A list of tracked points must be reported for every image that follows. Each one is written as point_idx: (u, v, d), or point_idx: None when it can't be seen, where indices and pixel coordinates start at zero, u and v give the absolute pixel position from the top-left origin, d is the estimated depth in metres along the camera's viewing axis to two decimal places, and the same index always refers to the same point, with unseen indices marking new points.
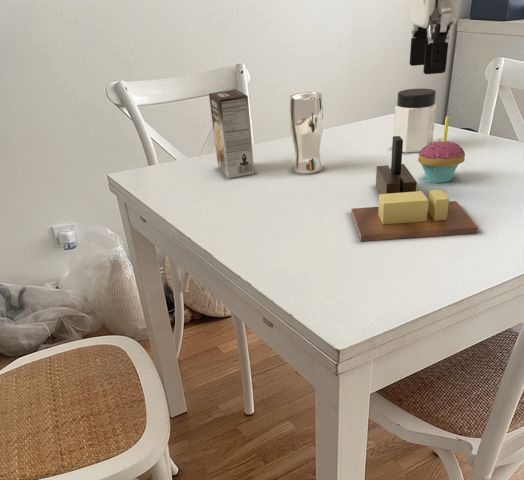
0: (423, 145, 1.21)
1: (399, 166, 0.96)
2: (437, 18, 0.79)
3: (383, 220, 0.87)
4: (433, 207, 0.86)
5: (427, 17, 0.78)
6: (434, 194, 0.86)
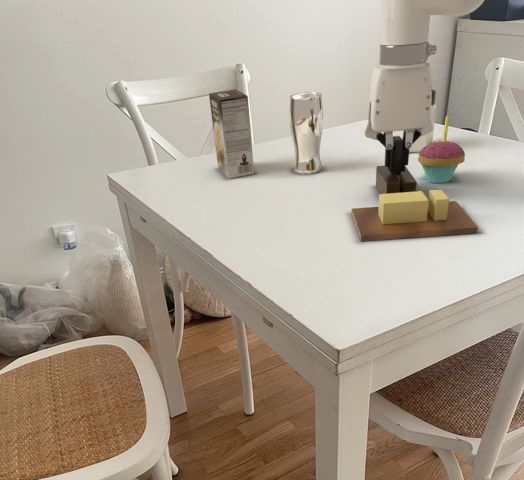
0: (423, 145, 1.21)
1: (399, 166, 0.96)
2: None
3: (383, 220, 0.87)
4: (433, 207, 0.86)
5: (429, 119, 0.91)
6: (434, 194, 0.86)
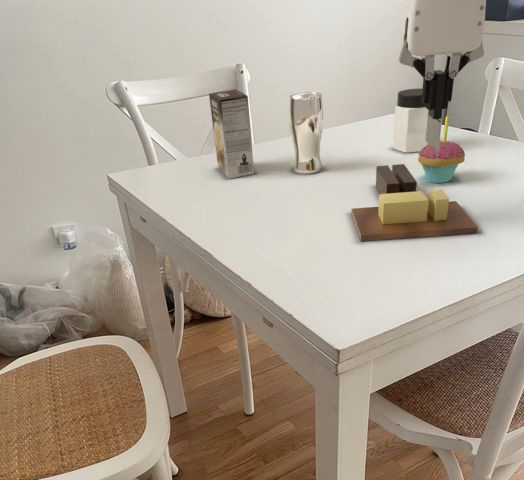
0: (423, 145, 1.21)
1: (440, 107, 0.78)
2: None
3: (383, 220, 0.87)
4: (433, 207, 0.86)
5: (481, 38, 0.73)
6: (434, 194, 0.86)
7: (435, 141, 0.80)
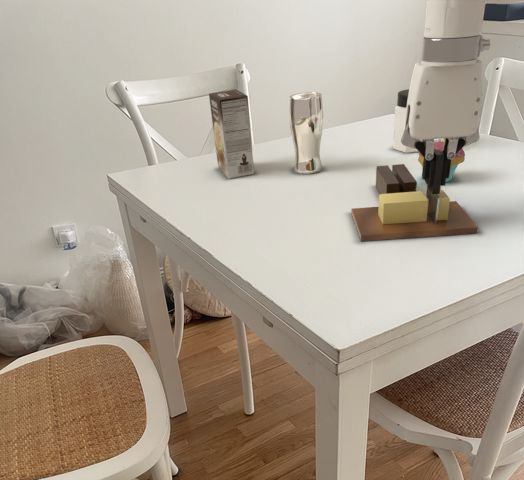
0: None
1: (438, 184, 0.84)
2: None
3: (383, 220, 0.87)
4: None
5: (477, 125, 0.79)
6: None
7: (433, 214, 0.86)
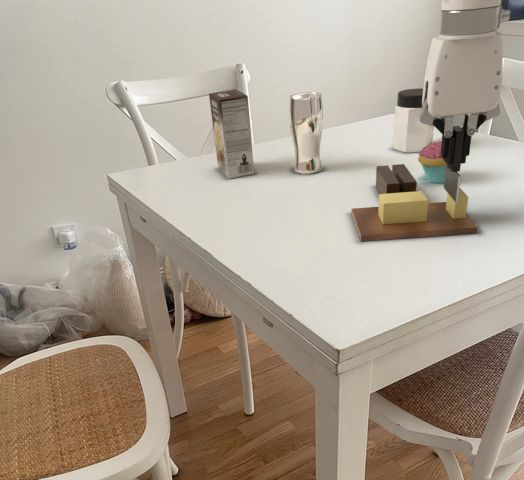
0: (423, 145, 1.21)
1: (458, 161, 0.82)
2: None
3: (383, 220, 0.87)
4: (452, 205, 0.86)
5: (498, 100, 0.77)
6: None
7: (454, 192, 0.84)
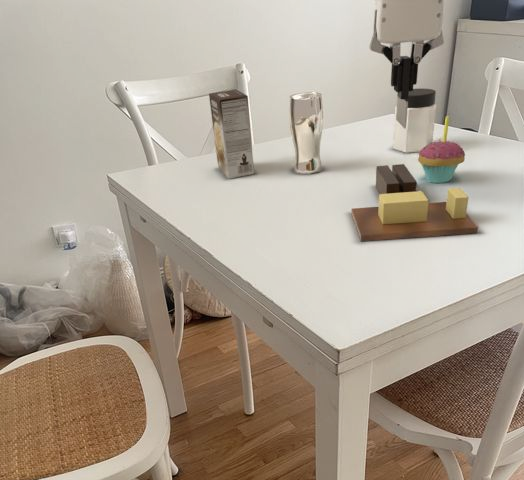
0: (423, 145, 1.21)
1: (406, 89, 0.88)
2: None
3: (383, 220, 0.87)
4: (452, 205, 0.86)
5: (441, 28, 0.83)
6: (453, 192, 0.86)
7: (403, 119, 0.90)
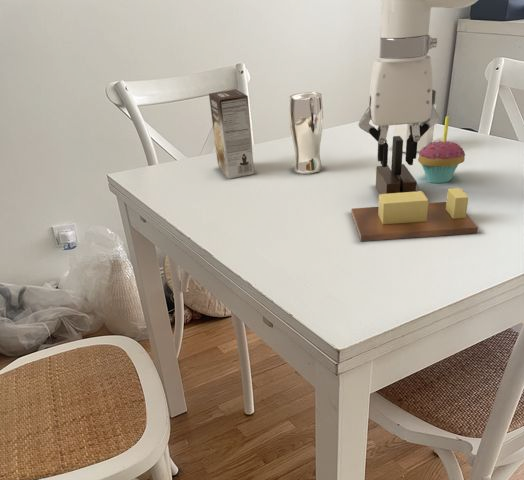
0: (423, 145, 1.21)
1: (399, 166, 0.96)
2: None
3: (383, 220, 0.87)
4: (452, 205, 0.86)
5: (430, 113, 0.91)
6: (453, 192, 0.86)
7: None
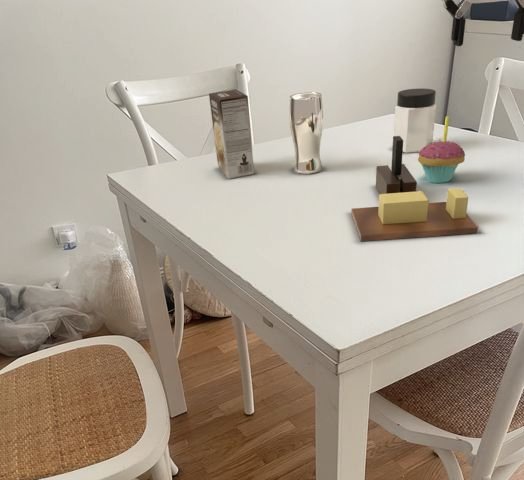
0: (423, 145, 1.21)
1: (399, 166, 0.96)
2: None
3: (383, 220, 0.87)
4: (452, 205, 0.86)
5: None
6: (453, 192, 0.86)
7: None
